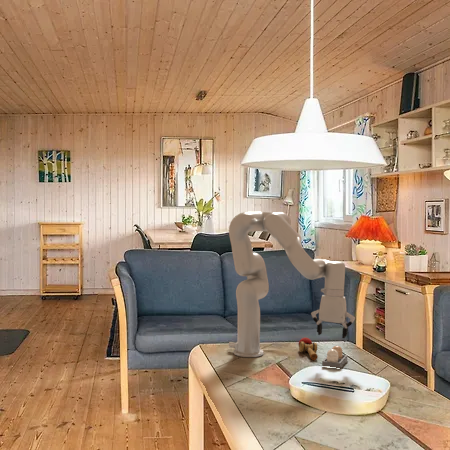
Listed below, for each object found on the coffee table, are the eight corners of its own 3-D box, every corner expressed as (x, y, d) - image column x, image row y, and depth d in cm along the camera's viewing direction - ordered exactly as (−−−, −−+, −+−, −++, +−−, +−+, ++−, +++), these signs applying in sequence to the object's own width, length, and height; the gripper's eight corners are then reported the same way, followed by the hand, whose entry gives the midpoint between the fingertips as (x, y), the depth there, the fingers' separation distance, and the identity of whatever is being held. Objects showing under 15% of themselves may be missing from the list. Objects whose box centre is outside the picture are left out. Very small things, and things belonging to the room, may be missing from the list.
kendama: (325, 363, 248) (313, 346, 266) (323, 348, 247) (311, 333, 265) (306, 367, 248) (296, 350, 265) (304, 352, 247) (294, 336, 264)
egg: (325, 365, 238) (325, 350, 237) (328, 362, 242) (328, 347, 241) (336, 367, 236) (337, 351, 236) (339, 363, 240) (339, 348, 240)
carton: (322, 367, 237) (322, 350, 237) (330, 359, 249) (330, 343, 249) (339, 369, 234) (340, 352, 234) (347, 361, 247) (347, 344, 246)
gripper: (310, 291, 238) (307, 335, 239) (354, 296, 231) (351, 341, 232) (315, 289, 245) (313, 331, 246) (358, 293, 238) (355, 336, 239)
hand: (331, 335), depth 239 cm, fingers open, 9 cm apart
